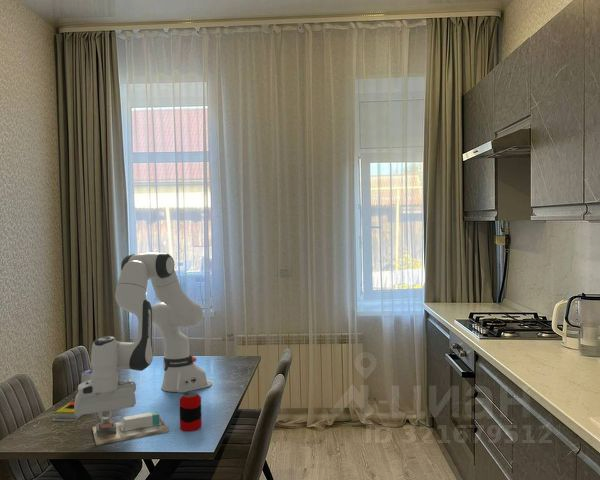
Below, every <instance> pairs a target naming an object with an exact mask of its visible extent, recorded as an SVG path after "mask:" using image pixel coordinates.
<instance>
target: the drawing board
mask: <svg viewBox="0 0 600 480" xmlns="http://www.w3.org/2000/svg"><path fill="white" fill-rule="evenodd" d="M91 430H92V433H93V438H94V443H95V445H96V446H101V445H104V444H105V443H106V444H109V443H115V442H116V443H117V442H121V441H126V440H131V439H139V438H143V437H148V436H152V435H153V436H154V435H159V434H163V433H168V432H169V431H170V430H169V427H168V426H167V423H166V422H165V421H164V420H163V417H162V416H161V415H160V414H159V424H158V425H152V426H146V427H141V428H135V429H130V430H125V429H124V426H123V421H119V422H115V421H114V420H113V421H112V427H107V428H101V429H100V423H96V424H95V426H92V428H91Z"/></svg>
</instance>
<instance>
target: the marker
mask: <svg viewBox="0 0 600 480" xmlns="http://www.w3.org/2000/svg"><path fill="white" fill-rule="evenodd" d="M159 415H160V413H159V411H152V412H151V411H150V412H145V413H144V412H143V413H140V414H134V415H129V416H128V415H126V416H123V418H122V420H123V421H122V422H123V426H124V429H125V430H130V429H135V428H141V427H146V426H152V425H158V424H159Z"/></svg>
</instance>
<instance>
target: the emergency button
mask: <svg viewBox="0 0 600 480" xmlns="http://www.w3.org/2000/svg"><path fill="white" fill-rule="evenodd" d="M74 404H75V401H70V402H68V403H66V404H65V405H64V406H62V407H60V408H59V409H57V410H56V411H55V416H54V418H52V422H76V421H78V419H80V418H81V417H83V416H84V415H79V416H77V415H76V414H75V413H74Z"/></svg>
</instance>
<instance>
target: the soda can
mask: <svg viewBox="0 0 600 480" xmlns="http://www.w3.org/2000/svg"><path fill="white" fill-rule="evenodd" d="M201 427H202V397H201V395H199V393H197V392H191V391H188V392H184V393H183V394H182V395H181V396H180V398H179V429H180V430H181V431H183V432H195V431H197V430H199V429H201Z"/></svg>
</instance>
